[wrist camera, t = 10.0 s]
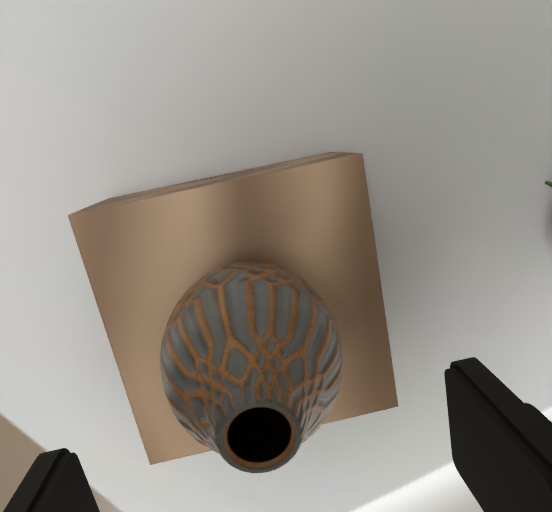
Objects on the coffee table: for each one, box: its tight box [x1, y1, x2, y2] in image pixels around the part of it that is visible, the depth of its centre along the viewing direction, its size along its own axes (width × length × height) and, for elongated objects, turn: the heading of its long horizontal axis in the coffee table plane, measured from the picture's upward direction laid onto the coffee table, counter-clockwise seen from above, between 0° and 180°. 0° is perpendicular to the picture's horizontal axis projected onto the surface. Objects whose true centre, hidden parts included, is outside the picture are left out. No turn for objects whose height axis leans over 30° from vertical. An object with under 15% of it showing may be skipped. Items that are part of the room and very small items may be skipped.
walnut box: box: [68, 152, 398, 465], centre depth 23 cm, size 13×13×6 cm
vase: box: [160, 261, 342, 473], centre depth 16 cm, size 7×7×9 cm
